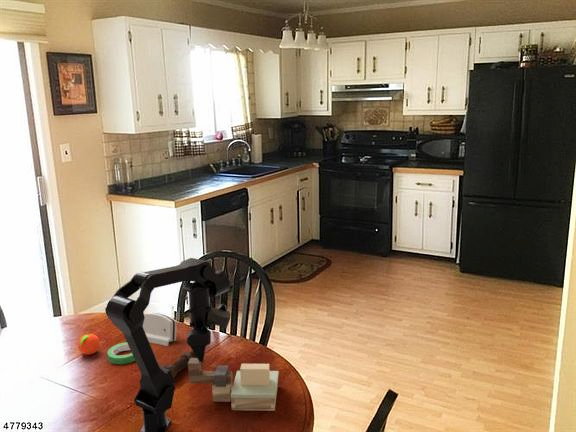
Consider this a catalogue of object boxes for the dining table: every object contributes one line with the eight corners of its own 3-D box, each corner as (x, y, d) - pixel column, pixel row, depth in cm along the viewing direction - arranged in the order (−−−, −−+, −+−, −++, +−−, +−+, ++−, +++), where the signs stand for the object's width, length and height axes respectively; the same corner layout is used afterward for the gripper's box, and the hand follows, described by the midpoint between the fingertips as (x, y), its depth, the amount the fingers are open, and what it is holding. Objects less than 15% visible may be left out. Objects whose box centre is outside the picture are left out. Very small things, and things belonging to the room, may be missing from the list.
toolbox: (274, 410, 139) (273, 381, 137) (210, 409, 140) (208, 381, 138) (277, 386, 151) (276, 359, 149) (218, 385, 152) (216, 359, 150)
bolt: (197, 365, 168) (168, 386, 155) (186, 355, 169) (156, 375, 156) (204, 352, 166) (174, 373, 152) (193, 343, 167) (162, 362, 154)
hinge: (130, 338, 184) (134, 310, 185) (138, 337, 188) (142, 310, 189) (168, 346, 177) (172, 317, 178) (176, 344, 181) (179, 316, 182)
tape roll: (122, 368, 164) (121, 361, 163) (101, 359, 170) (100, 351, 169) (149, 354, 172) (148, 347, 172) (128, 345, 179) (127, 339, 178)
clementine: (90, 361, 168) (88, 341, 166) (72, 358, 170) (70, 339, 168) (105, 349, 175) (102, 330, 174) (87, 347, 177) (85, 328, 176)
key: (231, 384, 143) (230, 363, 142) (189, 383, 144) (187, 363, 142) (232, 378, 146) (231, 358, 145) (191, 378, 147) (190, 357, 145)
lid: (275, 398, 138) (275, 378, 137) (230, 397, 139) (229, 378, 137) (278, 374, 150) (278, 355, 149) (237, 373, 151) (236, 355, 150)
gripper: (228, 314, 133) (230, 368, 137) (228, 289, 152) (230, 337, 155) (185, 316, 132) (188, 370, 136) (191, 291, 150) (193, 339, 154)
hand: (202, 353), depth 145 cm, fingers open, 9 cm apart
